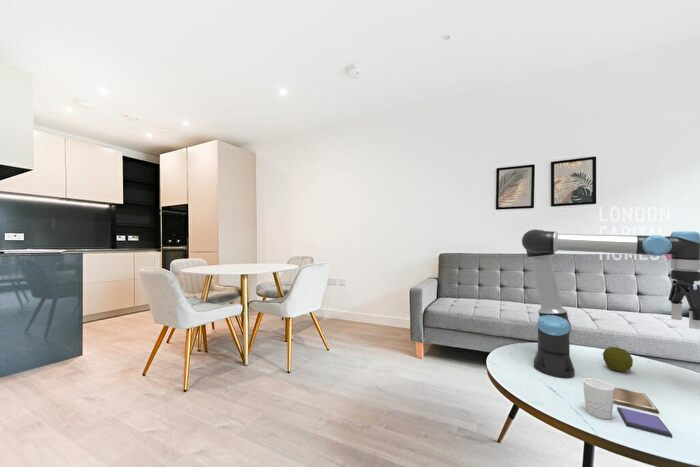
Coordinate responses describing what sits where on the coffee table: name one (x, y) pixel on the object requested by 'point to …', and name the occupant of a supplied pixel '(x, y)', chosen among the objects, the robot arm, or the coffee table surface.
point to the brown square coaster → (633, 400)
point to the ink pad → (644, 422)
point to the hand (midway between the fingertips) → (685, 323)
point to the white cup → (598, 398)
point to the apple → (617, 359)
